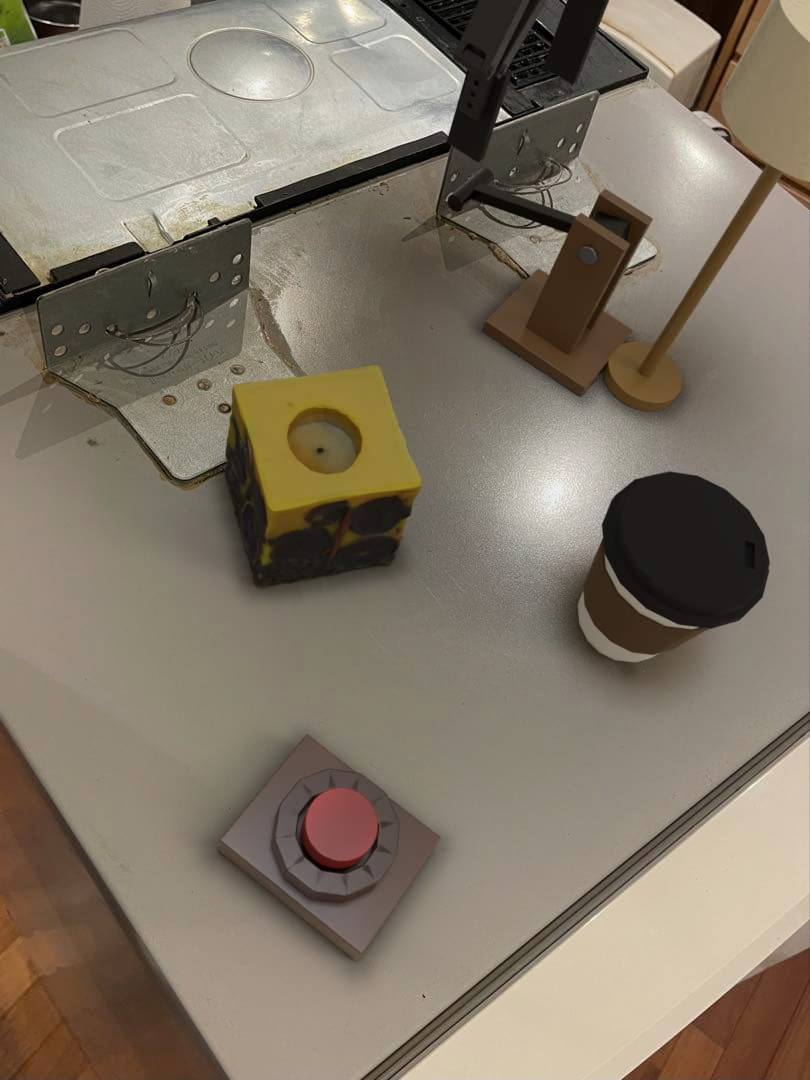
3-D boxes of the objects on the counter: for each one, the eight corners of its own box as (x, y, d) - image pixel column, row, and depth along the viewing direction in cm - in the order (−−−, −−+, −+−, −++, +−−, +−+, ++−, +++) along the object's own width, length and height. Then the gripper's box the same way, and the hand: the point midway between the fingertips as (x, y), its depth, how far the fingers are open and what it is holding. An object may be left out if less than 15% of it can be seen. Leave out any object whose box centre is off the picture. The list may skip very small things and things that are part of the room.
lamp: (555, 380, 82) (750, 10, 55) (614, 312, 88) (816, -53, 61) (667, 455, 80) (924, 111, 54) (719, 381, 86) (975, 37, 59)
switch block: (216, 849, 57) (221, 831, 53) (302, 745, 61) (310, 722, 58) (355, 961, 55) (368, 949, 52) (432, 846, 60) (449, 829, 56)
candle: (355, 449, 74) (381, 360, 65) (397, 565, 69) (430, 485, 61) (220, 468, 70) (229, 377, 62) (254, 591, 66) (269, 511, 57)
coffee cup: (693, 582, 74) (778, 494, 64) (685, 714, 68) (777, 639, 58) (556, 539, 73) (619, 443, 63) (535, 668, 67) (602, 585, 57)
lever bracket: (481, 330, 83) (530, 210, 72) (533, 277, 88) (586, 157, 77) (580, 397, 81) (644, 284, 71) (628, 339, 86) (695, 225, 76)
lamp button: (286, 838, 54) (290, 829, 53) (330, 782, 57) (334, 772, 55) (344, 884, 54) (349, 876, 52) (385, 826, 56) (392, 817, 55)
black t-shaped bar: (446, 214, 80) (447, 187, 78) (478, 186, 82) (480, 159, 80) (604, 272, 74) (609, 244, 73) (633, 240, 77) (639, 213, 75)
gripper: (582, -136, 47) (465, 217, 64) (775, -248, 60) (634, 70, 78) (453, -209, 48) (373, 157, 65) (671, -304, 61) (555, 22, 79)
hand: (514, 110), depth 72 cm, fingers open, 13 cm apart
